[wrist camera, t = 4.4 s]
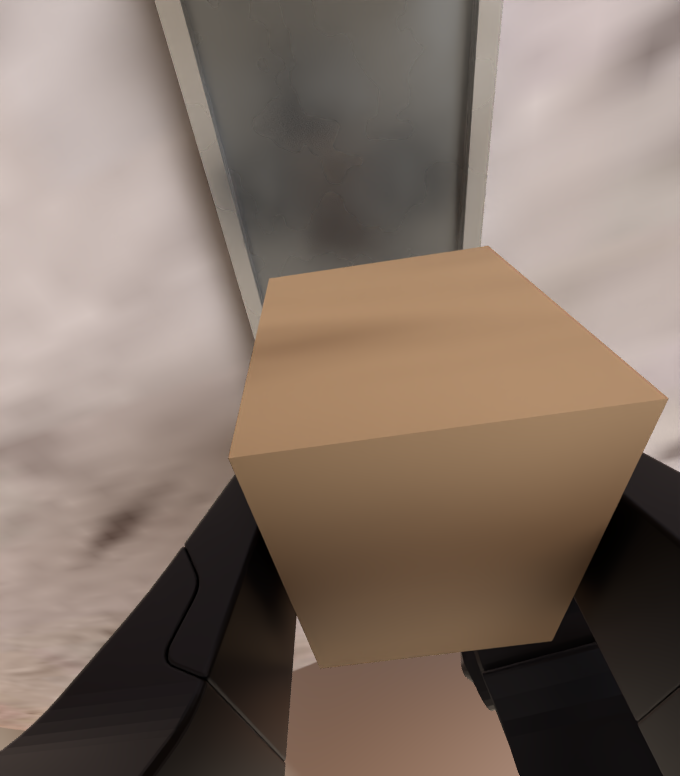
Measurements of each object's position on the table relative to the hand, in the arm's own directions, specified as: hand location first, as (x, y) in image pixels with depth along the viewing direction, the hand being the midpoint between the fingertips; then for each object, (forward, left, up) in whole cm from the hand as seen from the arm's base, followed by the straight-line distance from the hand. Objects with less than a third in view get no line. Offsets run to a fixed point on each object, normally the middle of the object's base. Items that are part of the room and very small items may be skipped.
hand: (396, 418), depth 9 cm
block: (0, 0, -1) cm, 1 cm away
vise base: (+2, 0, -11) cm, 11 cm away
